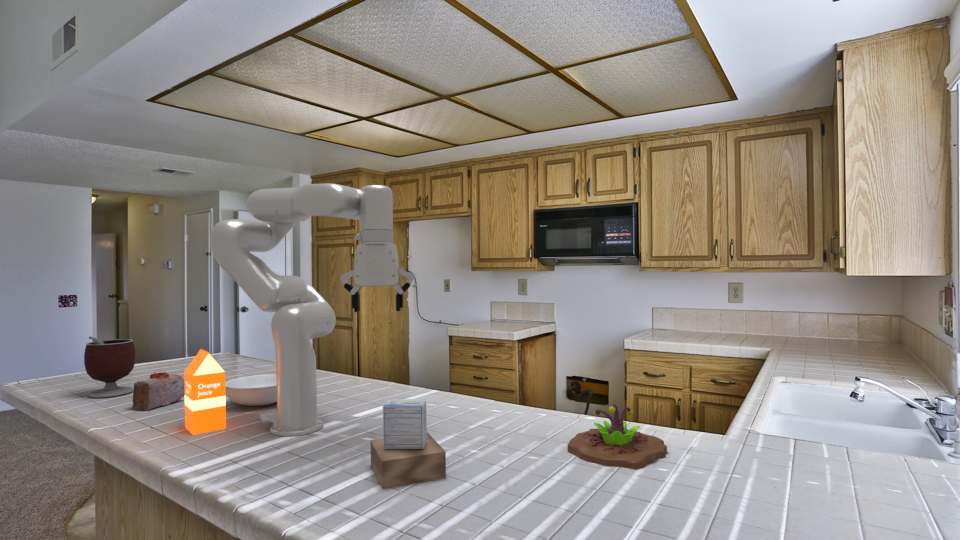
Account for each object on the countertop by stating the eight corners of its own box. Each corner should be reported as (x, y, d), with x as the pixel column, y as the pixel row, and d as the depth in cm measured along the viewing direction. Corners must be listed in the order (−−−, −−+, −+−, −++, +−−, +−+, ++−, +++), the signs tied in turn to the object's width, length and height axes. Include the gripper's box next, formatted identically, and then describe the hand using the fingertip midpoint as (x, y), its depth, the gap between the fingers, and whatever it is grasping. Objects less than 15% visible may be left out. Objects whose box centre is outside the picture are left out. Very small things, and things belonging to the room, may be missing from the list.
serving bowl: (312, 399, 158) (312, 377, 158) (251, 416, 141) (250, 391, 141) (270, 391, 169) (270, 370, 169) (209, 406, 152) (208, 383, 152)
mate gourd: (106, 388, 177) (105, 330, 177) (145, 387, 176) (144, 330, 176) (69, 399, 161) (68, 336, 161) (111, 399, 161) (110, 336, 161)
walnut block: (382, 494, 91) (382, 461, 91) (370, 470, 102) (370, 440, 102) (445, 483, 96) (445, 451, 96) (428, 460, 107) (427, 432, 107)
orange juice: (192, 435, 124) (191, 354, 124) (184, 427, 130) (183, 350, 130) (226, 428, 129) (225, 350, 129) (217, 421, 136) (216, 346, 136)
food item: (167, 398, 162) (166, 367, 162) (188, 399, 160) (188, 368, 160) (129, 410, 148) (128, 376, 148) (152, 411, 147) (151, 377, 147)
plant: (553, 458, 108) (552, 405, 108) (591, 433, 123) (590, 387, 123) (647, 480, 96) (646, 421, 96) (676, 450, 111) (675, 399, 111)
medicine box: (427, 442, 101) (426, 398, 101) (424, 450, 96) (423, 404, 96) (388, 442, 101) (387, 398, 101) (383, 450, 97) (382, 404, 97)
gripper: (336, 238, 115) (337, 313, 115) (412, 237, 116) (413, 312, 116) (343, 239, 122) (344, 310, 123) (415, 239, 123) (415, 309, 123)
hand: (377, 311), depth 119 cm, fingers open, 9 cm apart
